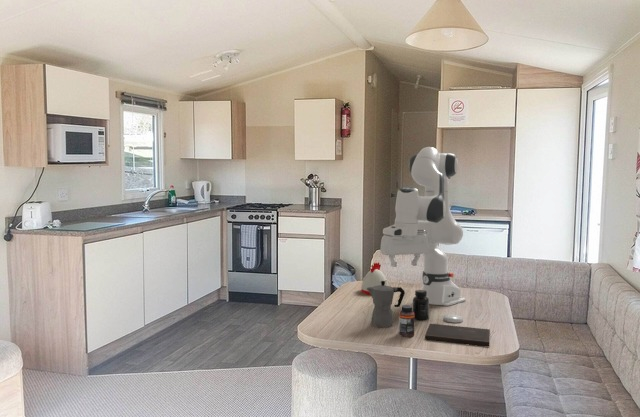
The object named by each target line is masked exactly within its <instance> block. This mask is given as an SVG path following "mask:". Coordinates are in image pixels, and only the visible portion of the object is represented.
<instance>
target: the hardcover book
mask: <svg viewBox="0 0 640 417" xmlns="http://www.w3.org/2000/svg"><path fill="white" fill-rule="evenodd" d="M427 327H428V328H427V330H426V332H425V335H424V341H430V342H439V343H441V342H442V343H450V344H458V345H466V344H469V345H468V346H475V345H477V346H476V347H484V346H489V347H490V335H491V334H490V333H491V332H490V331H491V330H490V329H488V328H481V327H480V328H479V327H472V326H471V327H470V326H469V327H467V326H461V325H460V326H459V325H450V324H440V323H439V324H438V323H429V325H428V326H427Z"/></svg>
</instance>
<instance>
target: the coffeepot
mask: <svg viewBox="0 0 640 417" xmlns="http://www.w3.org/2000/svg"><path fill="white" fill-rule="evenodd" d="M381 284H382V285H378V286H374V287H369V288H367V290H368V291H369V292H370V294H371V295H370V296H371V298H372V303H373V305H374V308H373V311H372V315H371V321H370V324H371V325H372V326H374V327H378V328H390V327H393V325H394V324H395V323H394V318H393V317H394V316H393V310H392V304H393V300H394V294H395V293H398V292H399V293H400V294H399V297H398V300H397V303H396V304H394V307H395V308H400V307H401V306H402V305H401V304H402V302H403V299H404V298H405V297H404V296H405V294H406V292H405V290H404V289H403V287H401V286H398V287H397V286H390V285H388V286H386V285H385V281H381Z"/></svg>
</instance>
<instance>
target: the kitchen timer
mask: <svg viewBox="0 0 640 417" xmlns="http://www.w3.org/2000/svg"><path fill="white" fill-rule="evenodd" d="M381 267H382V265H381V264H380V262H374V263H373V265H371V268H370V270H369V271H368V272H367V273H366V275H364V277H363V278H362V284H361V291H362V292H361V293H362V294H364V293H365V295H370V296H371V294H370V292H369V291H368V290H367V288H369V287H374V286H378V285H382V284H381V281H385V285H386V286H389V280H388V279H387V277H386V276H385V274H384V273H383V272H382V271H381Z"/></svg>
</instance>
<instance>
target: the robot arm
mask: <svg viewBox="0 0 640 417" xmlns="http://www.w3.org/2000/svg"><path fill="white" fill-rule="evenodd" d="M459 165H460V164H459V160H458V157H457V156H456V154H454V153H450V152H447V153H445V152H444V153H443V152H439V151H438V149H436V148H435V147H432V146H426V147H423V148H422V149H421V150H420V151H418V153H416V154H413V155H412V156H411V157H410V158H409V162H408V168H409V172H410V174H411V177H412V180H413V181H414V182H415V183H416V184H417V185H419V186H421V187H424V195H423V196H422V195H419V190H418V189H419V188H418V189H417V188H416V187H413V186H406V187H401V188H399V189H398V190H397V193H396V194H397V195H396V199H395V207H394V208H395V219H394V224H391V225H389V226H387V227H384V228H383V229H382V234H383V235H382V237H381V241H380V249H379V250H380V253H381V254H382V255H384V256H388V258H389V261H390V266H391V267H394V268H395V267H396V268H397V265H398V264H397V263H398V262H397V261H396V260H395V258H396V256H399V255H400V256H401V255H402V256H406V255H413V259H412V260H411V266H413V267H414V266H418V261H419V259H420V257H421V254H422V255H423V257H422V258H423V270H422V276H421V277H422V278H421V279H422V286H421V290H425V291H427V296H426V297H427V298H428V299H429V305H436V306H447V307H448V306H452V305H455V304H459V303H463V302H466V298H465V297H463V296H461V289H460V287H459V286H458V285H457V284H455V283H454V282H453V281H452V280H451V278H454V277H455V274H454V273H453V272H448V263H449V262H448V260H449V259H448V256H447V254H446V253H445V252H444V251H442V249H441V248H440V246H439V245H446V246H447V245H448V246H449V245H458V244H459V243H460V242H461V241H462V239H463V236H464V230H463V227H462V226H461V225H460V224H459V222H458V221H456V219H455V218H454V216H453V214H452V211H451V208H450V183H449V182H450V181H449V180H450V179H451V177H454V176H456V174H457V172H458V170H459Z"/></svg>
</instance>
